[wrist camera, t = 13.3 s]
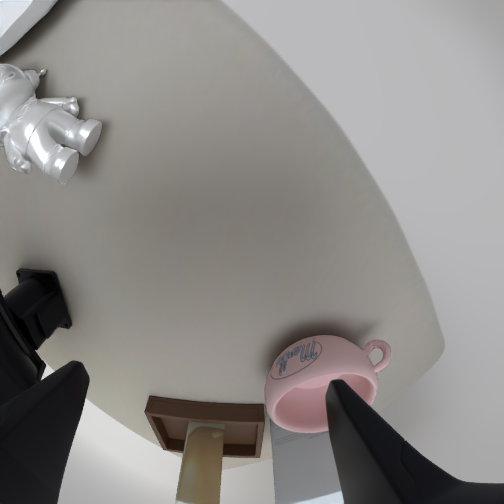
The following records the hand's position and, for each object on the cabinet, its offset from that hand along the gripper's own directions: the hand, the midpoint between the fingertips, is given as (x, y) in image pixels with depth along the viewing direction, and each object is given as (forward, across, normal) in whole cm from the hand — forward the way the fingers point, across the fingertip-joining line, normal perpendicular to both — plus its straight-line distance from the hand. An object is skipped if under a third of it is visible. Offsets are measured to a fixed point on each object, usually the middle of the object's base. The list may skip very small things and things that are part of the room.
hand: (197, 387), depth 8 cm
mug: (+13, -9, +11) cm, 19 cm away
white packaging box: (+13, -9, +22) cm, 27 cm away
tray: (+13, +3, +24) cm, 27 cm away
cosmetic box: (+13, +3, +24) cm, 27 cm away
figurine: (+13, +16, -11) cm, 24 cm away
